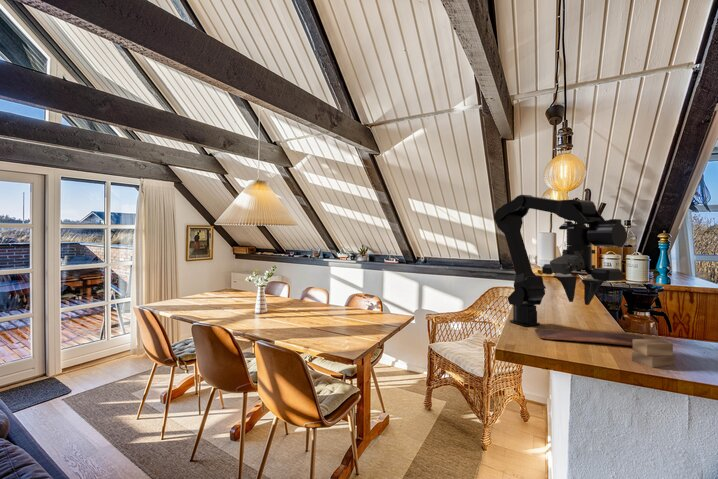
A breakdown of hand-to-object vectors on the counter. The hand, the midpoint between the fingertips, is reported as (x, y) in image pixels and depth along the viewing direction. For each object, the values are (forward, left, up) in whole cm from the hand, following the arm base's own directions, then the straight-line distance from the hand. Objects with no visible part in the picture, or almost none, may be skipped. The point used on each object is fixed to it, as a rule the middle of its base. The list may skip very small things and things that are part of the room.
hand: (578, 303), depth 89 cm
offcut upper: (+17, 0, -8) cm, 19 cm away
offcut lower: (+17, 0, -10) cm, 20 cm away
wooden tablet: (+5, 0, -10) cm, 11 cm away
